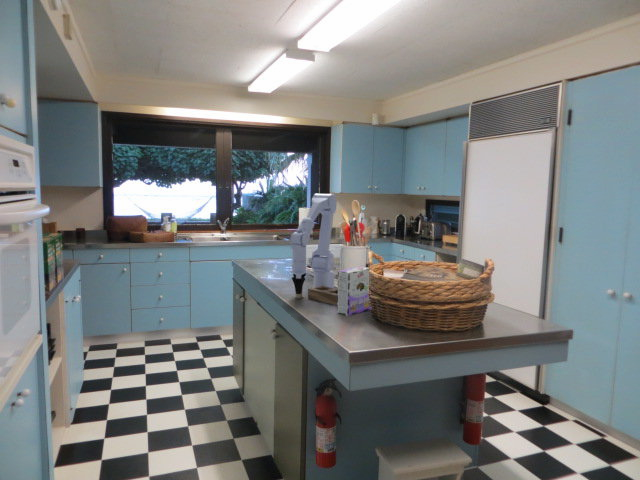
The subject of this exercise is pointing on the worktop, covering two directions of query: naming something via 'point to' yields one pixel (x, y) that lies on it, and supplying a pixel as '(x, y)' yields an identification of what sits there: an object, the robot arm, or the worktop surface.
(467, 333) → the worktop surface
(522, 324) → the worktop surface
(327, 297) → the socket block
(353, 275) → the candy box
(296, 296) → the pin
